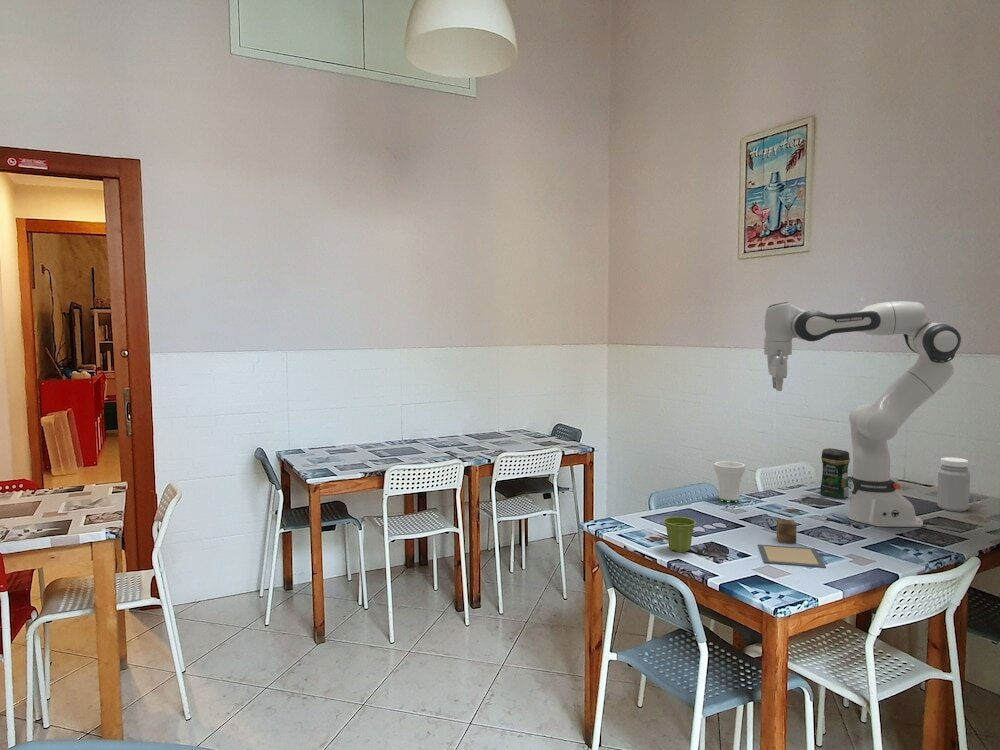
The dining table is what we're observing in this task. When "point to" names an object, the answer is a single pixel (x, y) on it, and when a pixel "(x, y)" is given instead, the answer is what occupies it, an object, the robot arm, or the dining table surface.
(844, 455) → the coffee jar
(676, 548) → the plant pot
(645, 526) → the dining table surface
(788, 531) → the walnut block
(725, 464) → the cup
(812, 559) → the coaster mat
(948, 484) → the jar
